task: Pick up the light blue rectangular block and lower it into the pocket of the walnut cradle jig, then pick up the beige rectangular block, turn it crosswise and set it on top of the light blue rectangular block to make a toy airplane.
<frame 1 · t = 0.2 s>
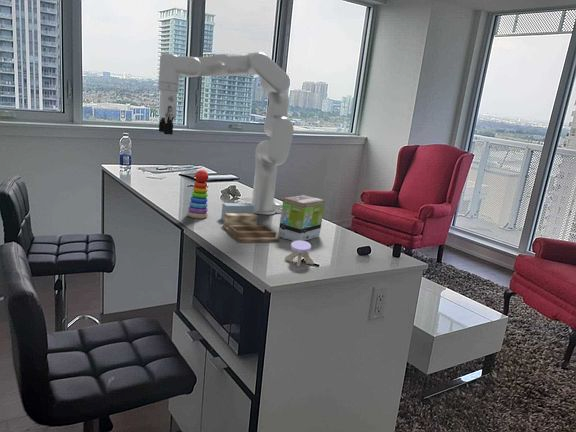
hand: (165, 133, 184), 31 cm above the table, tool pointing down, fingers open, 9 cm apart
light blue rectangular block: (237, 220, 191), on the table
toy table: (299, 262, 147), on the table
cradle jig: (251, 235, 170), on the table
tea box: (299, 237, 177), on the table
beige rectangular block: (239, 227, 181), on the table
stacking toy: (197, 217, 188), on the table
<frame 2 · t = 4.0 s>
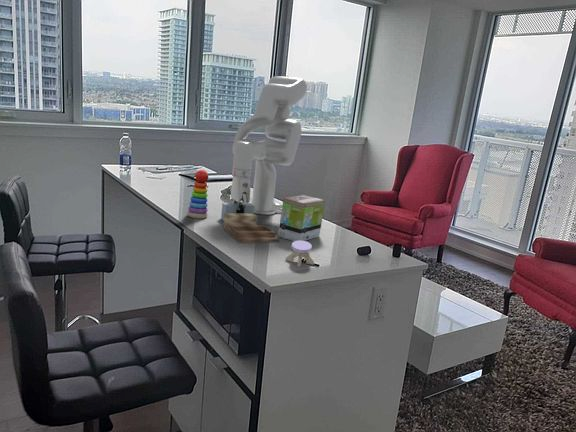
hand: (237, 217, 190), 1 cm above the table, tool pointing down, fingers closed on light blue rectangular block, 4 cm apart
light blue rectangular block: (237, 220, 190), on the table, touching gripper
everything else where it was.
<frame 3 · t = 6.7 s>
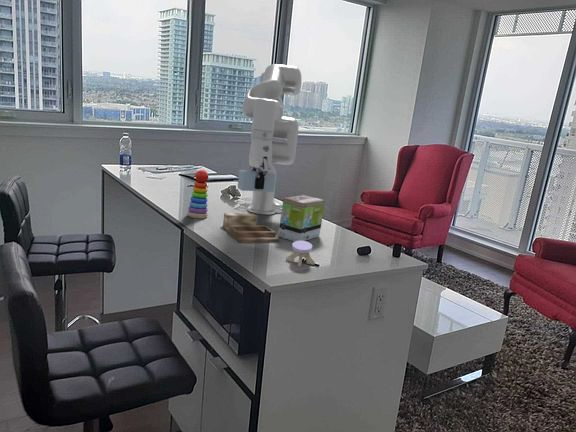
hand: (256, 187, 167), 18 cm above the table, tool pointing down, fingers closed on light blue rectangular block, 4 cm apart
light blue rectangular block: (255, 189, 167), point 17 cm above the table, touching gripper
everything else where it was.
when the fingers open (4 cm above the table, at t = 9.7 s): light blue rectangular block drops 2 cm, resting on cradle jig.
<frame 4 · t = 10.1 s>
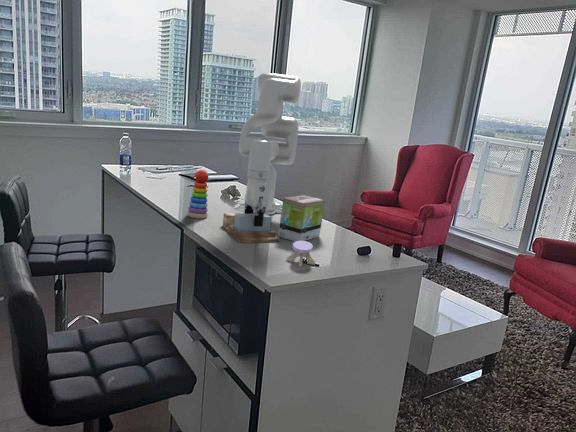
hand: (252, 222, 169), 5 cm above the table, tool pointing down, fingers open, 9 cm apart
light blue rectangular block: (251, 232, 170), point 1 cm above the table, touching cradle jig
everything else where it was.
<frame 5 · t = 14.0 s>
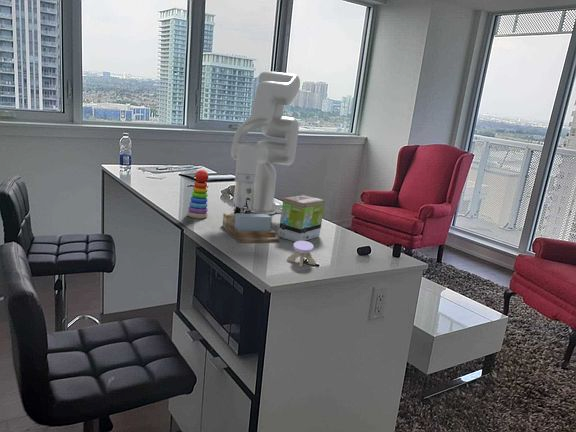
hand: (240, 224, 180), 1 cm above the table, tool pointing down, fingers open, 6 cm apart
nothing on the table moved.
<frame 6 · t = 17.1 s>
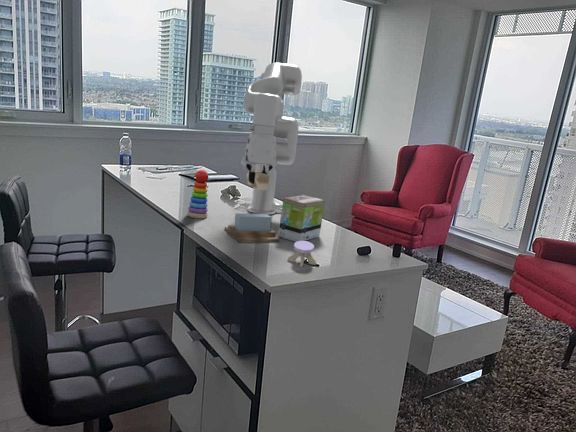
hand: (257, 182, 166), 19 cm above the table, tool pointing down, fingers closed on beige rectangular block, 3 cm apart
beige rectangular block: (256, 186, 167), point 18 cm above the table, touching gripper
everything else where it was.
when the fingers open (9 cm above the table, at t = 19.7 s): beige rectangular block stays where it is, resting on light blue rectangular block.
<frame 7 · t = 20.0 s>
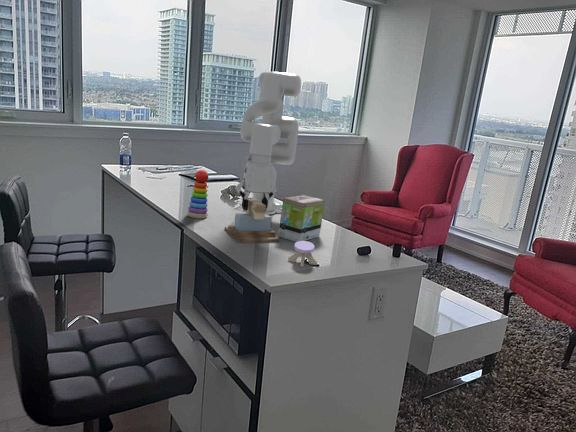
hand: (254, 209, 168), 10 cm above the table, tool pointing down, fingers open, 6 cm apart
light blue rectangular block: (251, 232, 170), point 1 cm above the table, touching cradle jig, beige rectangular block
beige rectangular block: (253, 215, 169), point 7 cm above the table, touching light blue rectangular block
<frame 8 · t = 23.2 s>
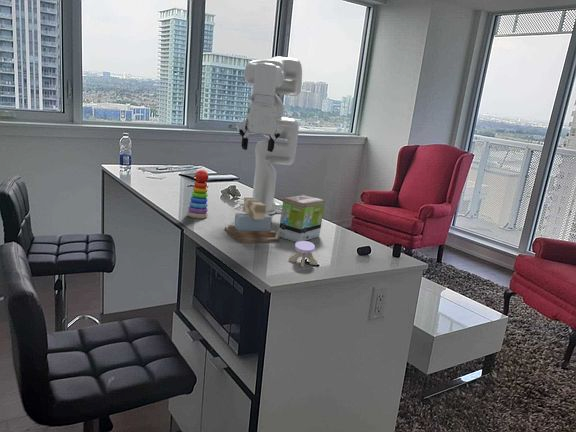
hand: (257, 150, 166), 30 cm above the table, tool pointing down, fingers open, 9 cm apart
at the end: light blue rectangular block 0.1 cm off-centre on the cradle jig, point 1.0 cm above the cradle jig's base; beige rectangular block 0.3 cm off-centre on the light blue rectangular block, point 6.5 cm above the light blue rectangular block's base; beige rectangular block tilted 0° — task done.
